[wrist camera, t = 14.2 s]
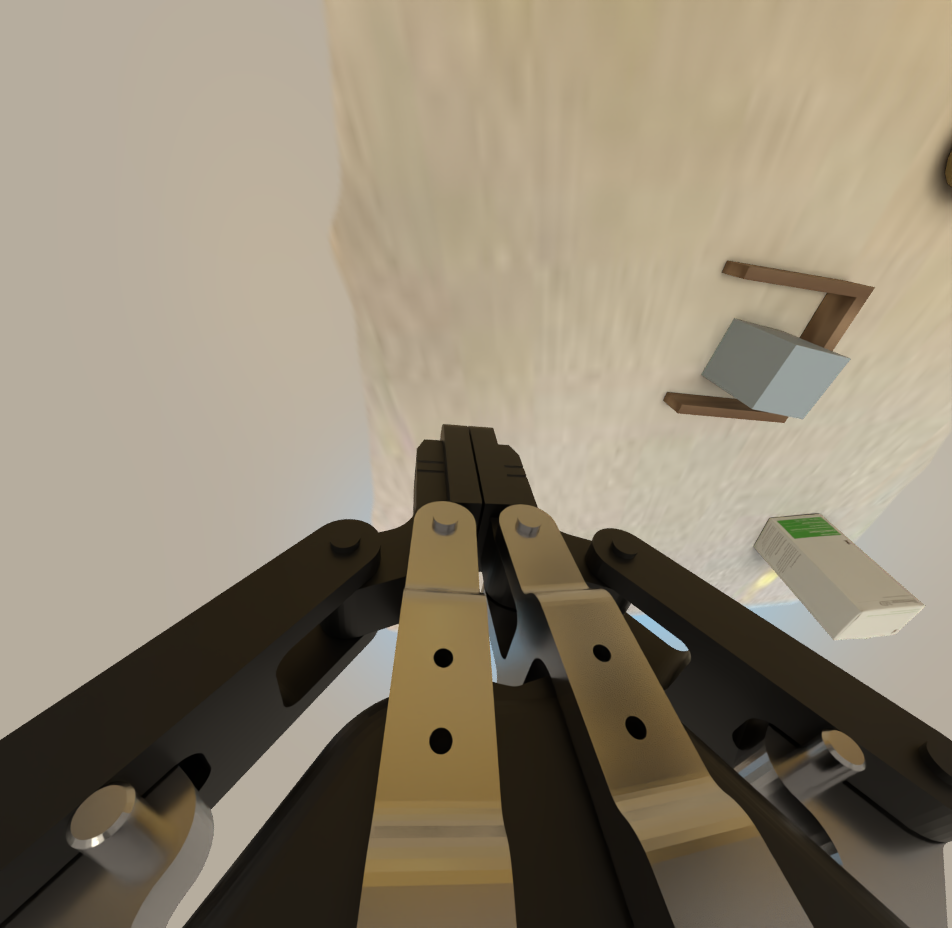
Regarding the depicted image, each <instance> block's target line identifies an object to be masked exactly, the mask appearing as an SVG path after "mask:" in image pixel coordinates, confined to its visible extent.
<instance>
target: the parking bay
mask: <svg viewBox="0 0 952 928" xmlns="http://www.w3.org/2000/svg"><path fill="white" fill-rule="evenodd" d="M722 273H725V274H729V275H732V276H735V277H739V278H742V279H747V280H753V281H760V282H766V283H772V284H778V285H784V286H790V287H796V288H802V289H809V290H815V291H821V292H827V294H826V296H825V298H824V299H823V301H822V303H821V304H820V306H819V308H818V309H817V311H816V312H815V314H814V316H813V317H812V319H811V321H810V322H809V324H808V326H807V327H806V329H805V330H804V332H803V334H802V335H801V337H800V338H801V339H803V340H806V341H808V342H811V343H813V344H815V345H818V346H820V347H823V348H825V349H828V350H830V351H833V349H834V348H835V346H836V345H837V343H838V342H839V340H840V339H841V338H842V336H843V335H844V333H845V332H846V330H847V329H848V327H849V326H850V324H851V323H852V321H853V320H854V318H855V317H856V315H857V314H858V312H859V311H860V309H861V308H862V306H863V305H864V303H865V302H866V300H867V299H868V297H869V296H870V294H871V293H872V291H873V290H874V288H875V287H871V286H866V285H862V284H857V283H853V282H848V281H843V280H838V279H832V278H826V277H820V276H814V275H808V274H803V273H797V272H791V271H785V270H779V269H774V268H768V267H762V266H756V265H750V264H744V263H739V262H733V261H727V262H726V265H725V267H724V269H723V271H722ZM663 401H665V402H666V403H667V404H668V405H669V406H670V407H671V408H672V409H674V410H675V411H676V412H677V413H680V414H692V415H703V416H714V417H725V418H736V419H747V420H758V421H769V422H781V423H785V421H786V420H787V418H788V417H789V416H784V415H779V414H774V413H769V412H764V411H759V410H754V409H751V408H750V407H748V406H747V405H745V404H744V403H742V402H741V401H739V400H738V399H730V398H720V397H710V396H700V395H690V394H680V393H670V392H667V394H666V396H665V398H664V400H663Z"/></svg>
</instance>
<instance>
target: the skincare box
mask: <svg viewBox="0 0 952 928" xmlns="http://www.w3.org/2000/svg"><path fill="white" fill-rule="evenodd" d="M754 548H755V549H756V550H757V551H758V553H759V554H760V555H761V556H762V557H763V558H764V559H765V561H766V562H767V563H768V564H769V565H770V566H771V568H772V569H773V570H774V571H775V572H776V573H777V575H778V576H779V577H780V578H781V579H782V580H783V582H784V583H785V584H786V585H787V586H788V587H789V588H790V590H791V591H792V592H793V593H794V594H795V596H796V597H797V598H798V599H799V600H800V601H801V602H802V604H803V605H804V606H805V607H806V608H807V609H808V611H809V612H810V613H811V614H812V615H813V617H814V618H815V619H816V620H817V621H818V622H819V623H820V625H821V626H822V627H823V628H824V629H825V631H826V632H827V633H828V634H829V635H830V636H831V638H832V639H833V640H842V639H854V638H858V639H867V638H871V637H876V636H888V635H895V634H896V633H897V632H898V631H899V630H900V629H902V628H903V627H904V626H905V625H906V624H907V623H908V622H909V621H910V620H911V619H912V618H913V617H914V616H916V615H917V614H918V613H919V612H920V611H921V610H922V609H923V608H924V607H925V605H924V604H923V603H921V602H920V601H919V600H918V599H917V598H916V597H915V596H913V595H912V594H911V593H910V592H909V591H908V590H906V589H905V588H904V587H903V586H902V585H901V584H900V583H899V582H897V581H896V580H895V579H894V578H893V577H892V576H891V575H889V574H888V573H887V572H886V571H885V570H884V569H883V568H881V567H880V566H879V565H878V564H877V563H876V562H875V561H873V560H872V559H871V558H870V557H869V556H868V555H867V554H865V553H864V552H863V551H862V550H861V549H860V548H859V547H857V546H856V545H855V544H854V543H853V542H852V541H851V540H850V539H848V538H847V537H846V536H845V535H844V534H843V533H842V532H840V531H839V530H838V529H837V528H836V527H835V526H834V525H832V524H831V523H830V522H829V521H828V520H827V519H826V518H825V517H823V516H822V515H821V514H814V515H800V516H789V517H777V518H770V519H769V520H768V522H767V524H766V526H765V527H764V529H763V531H762V533H761V534H760V536H759V538H758V540H757V541H756V543H755V545H754Z"/></svg>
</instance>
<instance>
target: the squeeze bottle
mask: <svg viewBox="0 0 952 928" xmlns="http://www.w3.org/2000/svg"><path fill="white" fill-rule="evenodd" d="M945 175H946V179H947V184H948V185H950V186H951V187H952V151H951V153H950V155H949V157H948V161H947V166H946V171H945Z"/></svg>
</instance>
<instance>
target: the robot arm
mask: <svg viewBox="0 0 952 928" xmlns="http://www.w3.org/2000/svg"><path fill="white" fill-rule="evenodd" d="M478 572H482V574H483V581H484V582H483V586H482V590H481V593H480V589H479V573H478ZM631 603H632V604H633V605H634V606H636V607H637V608H638V609H640V610H641V611H642V612H644V613H645V614H646V615H648V616H649V617H650V618H652V619H653V620H654V621H656V622H657V623H658V624H660V625H661V626H662V627H664V628H665V629H666V630H668V631H669V632H670V633H672V634H673V635H674V636H676V637H677V638H678V639H680V640H681V641H682V642H683V643H684V644H685V645H686V646H687V648H688V649H689V650H688V651H679V650H676V649H674V648H672V647H671V646H669V645H668V644H666V643H665V642H664V641H663V640H661V639H660V638H659V637H657V636H656V635H655V634H654V633H652V632H651V631H650V630H648V629H647V628H646V627H644V626H643V625H642V624H641V623H639V622H638V621H637V620H635V619H634V618H633V617H631V616H630V615H629V614H628V613H626V611H627V609H628V608H629V606H630V604H631ZM396 624H399V628H398V636H397V642H396V650H395V658H394V666H393V672H392V680H391V687H390V695H389V697H388V698H386V699H384V700H381V701H379V702H378V703H375V704H374V705H372V706H370V707H369V708H367V709H366V710H364V711H363V712H361V713H360V714H358V715H357V716H356V717H355V718H353V719H352V720H351V721H350V722H349V723H347V724H346V725H345V726H344V727H343V728H342V729H341V730H340V731H339V732H338V733H337V734H336V735H335V736H334V737H333V739H332V740H331V741H330V742H329V743H328V744H327V746H326V747H325V748H324V749H323V751H322V752H321V753H320V754H319V756H318V757H317V758H316V760H315V761H314V762H313V764H312V765H311V766H310V767H309V768H308V770H307V771H306V772H305V774H304V775H303V776H302V777H301V778H300V780H299V781H298V782H297V784H296V785H295V786H294V787H293V789H292V790H291V791H290V792H289V794H288V795H287V796H286V798H285V799H284V800H283V801H282V802H281V804H280V805H279V806H278V808H277V809H276V810H275V812H274V813H273V814H272V815H271V817H270V818H269V819H268V820H267V821H266V823H265V824H264V825H263V827H262V828H261V829H260V830H259V832H258V833H257V834H256V836H255V837H254V838H253V839H252V840H251V842H250V843H249V844H248V846H247V847H246V848H245V849H244V851H243V852H242V853H241V854H240V856H239V857H238V858H237V860H236V861H235V862H234V863H233V864H232V866H231V867H230V868H229V870H228V871H227V872H226V873H225V875H224V876H223V877H222V878H221V880H220V881H219V882H218V883H217V885H216V886H215V887H214V889H213V890H212V891H211V892H210V893H209V895H208V896H207V897H206V898H205V900H204V901H203V902H202V904H201V905H200V906H199V907H198V909H197V910H196V911H195V912H194V914H193V915H192V916H191V918H190V919H189V920H188V921H187V922H186V924H185V925H184V926H183V927H182V928H948V927H947V912H946V894H945V876H944V860H943V847H944V845H945V844H946V843H947V842H950V841H952V741H951V740H950V739H949V738H947V737H946V736H944V735H943V734H941V733H940V732H938V731H937V730H935V729H933V728H932V727H930V726H929V725H927V724H926V723H924V722H923V721H921V720H920V719H918V718H916V717H915V716H913V715H912V714H910V713H909V712H907V711H906V710H904V709H902V708H901V707H899V706H898V705H896V704H895V703H893V702H892V701H890V700H889V699H887V698H886V697H884V696H882V695H881V694H879V693H878V692H876V691H875V690H873V689H872V688H870V687H869V686H867V685H865V684H863V683H862V682H860V681H859V680H858V679H856V678H855V677H853V676H851V675H850V674H848V673H847V672H845V671H844V670H842V669H841V668H839V667H837V666H836V665H834V664H833V663H831V662H830V661H828V660H827V659H825V658H823V657H822V656H820V655H819V654H817V653H816V652H814V651H813V650H811V649H809V648H808V647H806V646H805V645H803V644H802V643H800V642H799V641H797V640H796V639H794V638H792V637H791V636H789V635H788V634H786V633H785V632H783V631H782V630H780V629H778V628H777V627H775V626H774V625H772V624H771V623H769V622H768V621H766V620H765V619H763V618H761V617H760V616H758V615H757V614H755V613H754V612H752V611H751V610H749V609H748V608H746V607H744V606H743V605H741V604H740V603H738V602H737V601H735V600H734V599H732V598H730V597H729V596H727V595H726V594H724V593H723V592H721V591H720V590H718V589H717V588H715V587H713V586H712V585H710V584H709V583H707V582H706V581H704V580H703V579H701V578H699V577H698V576H696V575H695V574H693V573H692V572H690V571H689V570H687V569H686V568H684V567H682V566H681V565H679V564H678V563H676V562H675V561H673V560H672V559H670V558H668V557H667V556H665V555H664V554H662V553H661V552H659V551H658V550H656V549H654V548H653V547H651V546H650V545H648V544H647V543H645V542H644V541H642V540H641V539H639V538H637V537H636V536H634V535H632V534H630V533H628V532H626V531H623V530H619V529H613V528H607V529H602V530H600V531H598V532H597V533H596V534H595V535H594V537H593V539H592V541H590V540H587V539H583V538H579V537H576V536H572V535H569V534H566V533H563V532H561V531H559V529H558V527H557V525H556V523H555V521H554V520H553V519H552V517H551V516H550V515H548V514H547V513H546V512H544V511H543V510H541V509H539V508H538V507H537V504H536V501H535V499H534V496H533V493H532V490H531V487H530V485H529V482H528V479H527V478H526V474H525V471H524V468H523V465H522V462H521V460H520V457H519V455H518V454H517V453H516V452H515V451H514V450H513V449H512V448H511V447H510V446H509V445H499V444H498V443H497V439H496V436H495V433H494V429H493V428H488V427H475V426H468V427H467V426H460V425H447V424H443V425H442V430H441V438H440V441H439V440H425V439H424V441H423V442H422V443H421V444H420V446H419V447H418V448H417V455H416V468H415V481H414V504H413V517H412V518H411V519H410V520H409V521H408V522H407V523H405V524H404V525H402V526H400V527H398V528H395V529H392V530H388V531H383V532H379V533H378V531H377V530H376V529H375V528H374V527H373V526H371V525H370V524H368V523H366V522H363V521H360V520H353V519H344V520H338V521H334V522H331V523H328V524H326V525H324V526H323V527H321V528H319V529H318V530H316V531H315V532H313V533H312V534H310V535H309V536H307V537H306V538H304V539H303V540H301V541H300V542H298V543H297V544H295V545H294V546H292V547H291V548H289V549H288V550H286V551H285V552H283V553H282V554H280V555H279V556H277V557H276V558H274V559H273V560H271V561H270V562H268V563H267V564H265V565H263V566H262V567H260V568H259V569H257V570H256V571H254V572H253V573H251V574H250V575H249V576H247V577H245V578H244V579H242V580H241V581H239V582H238V583H236V584H235V585H233V586H232V587H230V588H229V589H227V590H226V591H224V592H223V593H221V594H220V595H218V596H217V597H215V598H214V599H212V600H211V601H209V602H208V603H206V604H205V605H203V606H202V607H200V608H199V609H197V610H196V611H194V612H193V613H191V614H190V615H188V616H187V617H185V618H184V619H182V620H181V621H179V622H178V623H176V624H175V625H173V626H172V627H170V628H169V629H167V630H166V631H164V632H163V633H161V634H160V635H158V636H156V637H155V638H153V639H152V640H150V641H149V642H147V643H146V644H145V645H143V646H142V647H140V648H138V649H137V650H135V651H134V652H132V653H131V654H129V655H128V656H126V657H125V658H123V659H122V660H120V661H119V662H117V663H116V664H114V665H113V666H111V667H110V668H108V669H107V670H105V671H104V672H102V673H101V674H99V675H98V676H96V677H95V678H93V679H92V680H90V681H89V682H87V683H86V684H84V685H83V686H81V687H80V688H78V689H77V690H75V691H74V692H72V693H71V694H69V695H68V696H66V697H65V698H63V699H61V700H60V701H58V702H57V703H55V704H54V705H53V706H51V707H50V708H48V709H46V710H45V711H43V712H42V713H40V714H39V715H37V716H36V717H34V718H33V719H31V720H30V721H28V722H27V723H25V724H24V725H22V726H21V727H19V728H18V729H16V730H15V731H13V732H12V733H10V734H9V735H7V736H6V737H4V738H3V739H1V740H0V928H166V926H167V924H168V921H169V919H170V917H171V916H172V914H173V912H174V911H175V909H176V907H177V906H178V904H179V903H180V901H181V900H182V899H183V897H184V896H185V894H186V893H187V892H188V890H189V889H190V887H191V886H192V885H193V883H194V882H195V880H196V879H197V877H198V875H199V874H200V872H201V870H202V868H203V866H204V864H205V862H206V859H207V857H208V854H209V851H210V848H211V845H212V840H213V832H214V823H213V816H212V813H211V809H212V808H213V807H214V806H215V805H216V803H218V801H219V800H220V799H221V798H222V797H223V796H224V795H225V794H226V793H227V792H228V791H229V790H230V789H231V788H232V787H233V786H234V785H235V784H236V782H237V781H238V780H239V779H240V778H241V777H242V776H243V775H244V774H245V773H246V772H247V771H248V770H249V769H250V768H251V767H252V766H253V765H254V764H255V762H256V761H257V760H258V759H259V758H260V757H261V756H262V755H263V754H264V753H265V752H266V751H267V750H268V749H269V748H270V747H271V746H272V745H273V744H274V742H275V741H276V740H277V739H278V738H279V737H280V736H281V735H282V734H283V733H284V732H285V731H286V730H287V729H288V728H289V727H290V726H291V725H292V723H293V722H294V721H295V720H296V719H297V718H298V717H299V716H300V715H301V714H302V713H303V712H304V711H305V710H306V709H307V708H308V707H309V706H310V705H311V703H313V701H314V700H315V699H316V698H317V697H318V696H319V695H320V694H321V693H322V692H323V691H324V690H325V689H326V688H327V686H329V685H330V683H332V681H333V680H334V679H335V678H336V677H337V676H338V675H339V674H340V673H341V672H342V671H343V670H344V669H345V668H346V667H347V666H348V665H349V664H350V662H351V661H352V660H353V659H354V658H355V657H356V656H357V655H358V654H359V653H360V652H361V651H362V650H363V649H364V647H366V646H367V645H368V644H369V642H370V641H371V640H372V639H373V638H374V636H375V635H376V633H377V631H378V630H381V629H384V628H387V627H390V626H393V625H396ZM489 637H490V641H491V645H492V650H493V654H494V658H495V663H496V669H497V683H495V682H492V669H491V655H490V641H489Z"/></svg>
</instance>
